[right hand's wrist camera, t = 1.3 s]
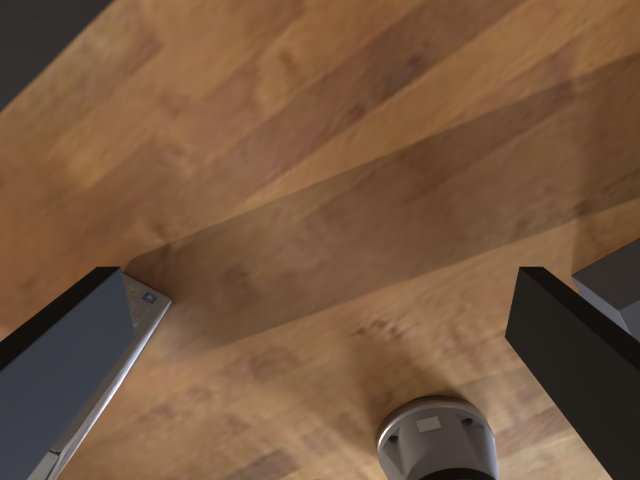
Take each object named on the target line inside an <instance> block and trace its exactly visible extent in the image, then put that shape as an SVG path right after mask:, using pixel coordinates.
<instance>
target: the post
mask: <svg viewBox="0 0 640 480" xmlns="http://www.w3.org/2000/svg"><path fill="white" fill-rule="evenodd" d="M571 276H572V278H573V280H574V282H575V284H576V286H577V288H578V290H579V291H580V293H581V295H582V297H583V298H584V299H585V300H586V301H588V302H589V303H590V304H591V305H593V306H594V307H595V308H597V309H598V310H599V311H600V312H602V313H603V314H604V315H606V316H607V317H608V318H609V319H611V320H612V321H613V322H615V323H616V324H617V325H618V326H620V327H621V328H622V329H624V330H625V331H626V332H627V333H629V334H630V335H631V336H633V337H634V338H635V339H636V340H638V341H639V342H640V238H639V239H637V240H635V241H633V242H632V243H630V244H628V245H626V246H624V247H622V248H621V249H619V250H617V251H615V252H613V253H612V254H610V255H608V256H606V257H604V258H602V259H601V260H599V261H597V262H595V263H593V264H591V265H590V266H588V267H586V268H584V269H582V270H580V271H579V272H577V273H575V274H573V275H571Z"/></svg>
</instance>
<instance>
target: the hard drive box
mask: <svg viewBox="0 0 640 480" xmlns="http://www.w3.org/2000/svg"><path fill="white" fill-rule="evenodd" d="M122 276H123V281H124V286H125V291H126V296H127V300H128V305H129V310H130V315H131V319H132V324H133V329H134V334H135V338H134V339H133V341H132V342H131V343H130V345H129V346H128V347H127V349H126V350H125V351H124V353H123V354H122V355H121V357H120V358H119V359H118V361H117V362H116V363H115V364H114V366H113V367H112V368H111V370H110V371H109V372H108V374H107V375H106V376H105V378H104V379H103V380H102V382H101V383H100V384H99V386H98V387H97V388H96V390H95V391H94V392H93V393H92V395H91V396H90V397H89V399H88V400H87V401H86V403H85V404H84V405H83V407H82V408H81V409H80V411H79V412H78V413H77V415H76V416H75V417H74V419H73V420H72V421H71V422H70V424H69V425H68V426H67V428H66V429H65V430H64V432H63V433H62V434H61V436H60V437H59V438H58V440H57V441H56V442H55V444H54V445H53V446H52V448H51V449H50V450H49V451H48V453H47V454H46V455H45V457H44V458H43V459H42V461H41V462H40V463H39V465H38V466H37V467H36V469H35V470H34V471H33V473H32V474H31V475H30V477H29V478H28V479H27V480H56V479H57V477H58V476H59V474H60V473H61V471H62V470H63V468H64V467H65V465H66V464H67V462H68V461H69V460H70V458H71V457H72V455H73V454H74V452H75V451H76V449H77V448H78V446H79V445H80V443H81V442H82V440H83V439H84V438H85V436H86V435H87V433H88V432H89V430H90V429H91V427H92V426H93V424H94V423H95V421H96V420H97V418H98V417H99V415H100V414H101V413H102V411H103V410H104V408H105V407H106V405H107V404H108V402H109V401H110V399H111V398H112V396H113V395H114V393H115V392H116V390H117V389H118V387H119V386H120V384H121V382H122V381H123V379H124V378H125V376H126V374H127V373H128V371H129V369H130V368H131V366H132V365H133V363H134V361H135V360H136V358H137V356H138V355H139V353H140V352H141V350H142V349H143V347H144V345H145V344H146V342H147V341H148V339H149V337H150V336H151V334H152V333H153V331H154V329H155V328H156V326H157V325H158V323H159V322H160V320H161V318H162V317H163V315H164V314H165V312H166V310H167V309H168V307H169V306H170V304H171V302H172V301H171V300H170V298H168V297H166V296H165V295H163V294H161V293H159V292H157V291H155V290H153V289H151V288H149V287H148V286H146V285H144V284H142V283H140V282H138V281H136V280H134V279H132V278H131V277H129V276H127V275H125V274H123V273H122Z"/></svg>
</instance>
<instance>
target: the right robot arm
mask: <svg viewBox="0 0 640 480" xmlns="http://www.w3.org/2000/svg"><path fill="white" fill-rule="evenodd" d="M134 338H135V334H134V329H133V324H132V319H131V315H130V310H129V305H128V300H127V296H126V291H125V286H124V281H123V276H122V272H121V267H96V268H95V269H94V270H92V271H91V272H90V273H88V274H87V275H86V276H85V277H83V278H82V279H81V280H79V281H78V282H77V283H76V284H74V285H73V286H72V287H70V288H69V289H68V290H67V291H65V292H64V293H63V294H61V295H60V296H59V297H58V298H56V299H55V300H54V301H52V302H51V303H50V304H49V305H47V306H46V307H45V308H43V309H42V310H41V311H40V312H38V313H37V314H36V315H34V316H33V317H32V318H31V319H29V320H28V321H27V322H25V323H24V324H23V325H22V326H20V327H19V328H18V329H16V330H15V331H14V332H13V333H11V334H10V335H9V336H7V337H6V338H5V339H4V340H2V341H1V342H0V480H27V479H28V478H29V477H30V475H31V474H32V473H33V471H34V470H35V469H36V467H37V466H38V465H39V463H40V462H41V461H42V459H43V458H44V457H45V455H46V454H47V453H48V451H49V450H50V449H51V448H52V446H53V445H54V444H55V442H56V441H57V440H58V438H59V437H60V436H61V434H62V433H63V432H64V430H65V429H66V428H67V426H68V425H69V424H70V422H71V421H72V420H73V419H74V417H75V416H76V415H77V413H78V412H79V411H80V409H81V408H82V407H83V405H84V404H85V403H86V401H87V400H88V399H89V397H90V396H91V395H92V393H93V392H94V391H95V390H96V388H97V387H98V386H99V384H100V383H101V382H102V380H103V379H104V378H105V376H106V375H107V374H108V372H109V371H110V370H111V368H112V367H113V366H114V364H115V363H116V362H117V361H118V359H119V358H120V357H121V355H122V354H123V353H124V351H125V350H126V349H127V347H128V346H129V345H130V343H131V342H132V341H133V339H134ZM505 338H506V339H507V341H508V342H509V343H510V345H511V346H512V347H513V349H514V350H515V351H516V353H517V354H518V355H519V357H520V358H521V359H522V361H523V362H524V363H525V364H526V366H527V367H528V368H529V370H530V371H531V372H532V374H533V375H534V376H535V378H536V379H537V380H538V382H539V383H540V384H541V386H542V387H543V388H544V390H545V391H546V392H547V393H548V395H549V396H550V397H551V399H552V400H553V401H554V403H555V404H556V405H557V407H558V408H559V409H560V411H561V412H562V413H563V415H564V416H565V417H566V419H567V420H568V421H569V422H570V424H571V425H572V426H573V428H574V429H575V430H576V432H577V433H578V434H579V436H580V437H581V438H582V440H583V441H584V442H585V444H586V445H587V446H588V448H589V449H590V450H591V451H592V453H593V454H594V455H595V457H596V458H597V459H598V461H599V462H600V463H601V465H602V466H603V467H604V469H605V470H606V471H607V473H608V474H609V475H610V477H611V478H612V479H613V480H640V342H639V341H638V340H636V339H635V338H634V337H633V336H631V335H630V334H629V333H627V332H626V331H625V330H624V329H622V328H621V327H620V326H618V325H617V324H616V323H615V322H613V321H612V320H611V319H609V318H608V317H607V316H606V315H604V314H603V313H602V312H600V311H599V310H598V309H597V308H595V307H594V306H593V305H591V304H590V303H589V302H588V301H586V300H585V299H584V298H582V297H581V296H580V295H579V294H577V293H576V292H575V291H573V290H572V289H571V288H570V287H568V286H567V285H566V284H564V283H563V282H562V281H561V280H559V279H558V278H557V277H555V276H554V275H553V274H552V273H550V272H549V271H548V270H546V269H545V268H544V267H519V272H518V276H517V281H516V286H515V291H514V296H513V300H512V305H511V310H510V315H509V319H508V324H507V329H506V334H505ZM376 446H377V453H378V459H379V463H380V465H381V467H382V469H383V471H384V473H385V475H386V477H387V479H388V480H499V475H498V466H497V458H496V449H495V441H494V436H493V433H492V431H491V429H490V427H489V425H488V423H487V421H486V419H485V417H484V415H483V414H482V413H481V412H480V411H479V410H478V409H477V408H476V407H474V406H473V405H471V404H469V403H467V402H465V401H463V400H460V399H456V398H452V397H443V396H435V397H426V398H421V399H417V400H414V401H411V402H409V403H406V404H404V405H402V406H401V407H399V408H397V409H396V410H394V411H393V412H392V413H391V414H390V415H389V416H388V417H387V418H386V419H385V420H384V421H383V423H382V424H381V426H380V428H379V430H378V433H377V438H376Z"/></svg>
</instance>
